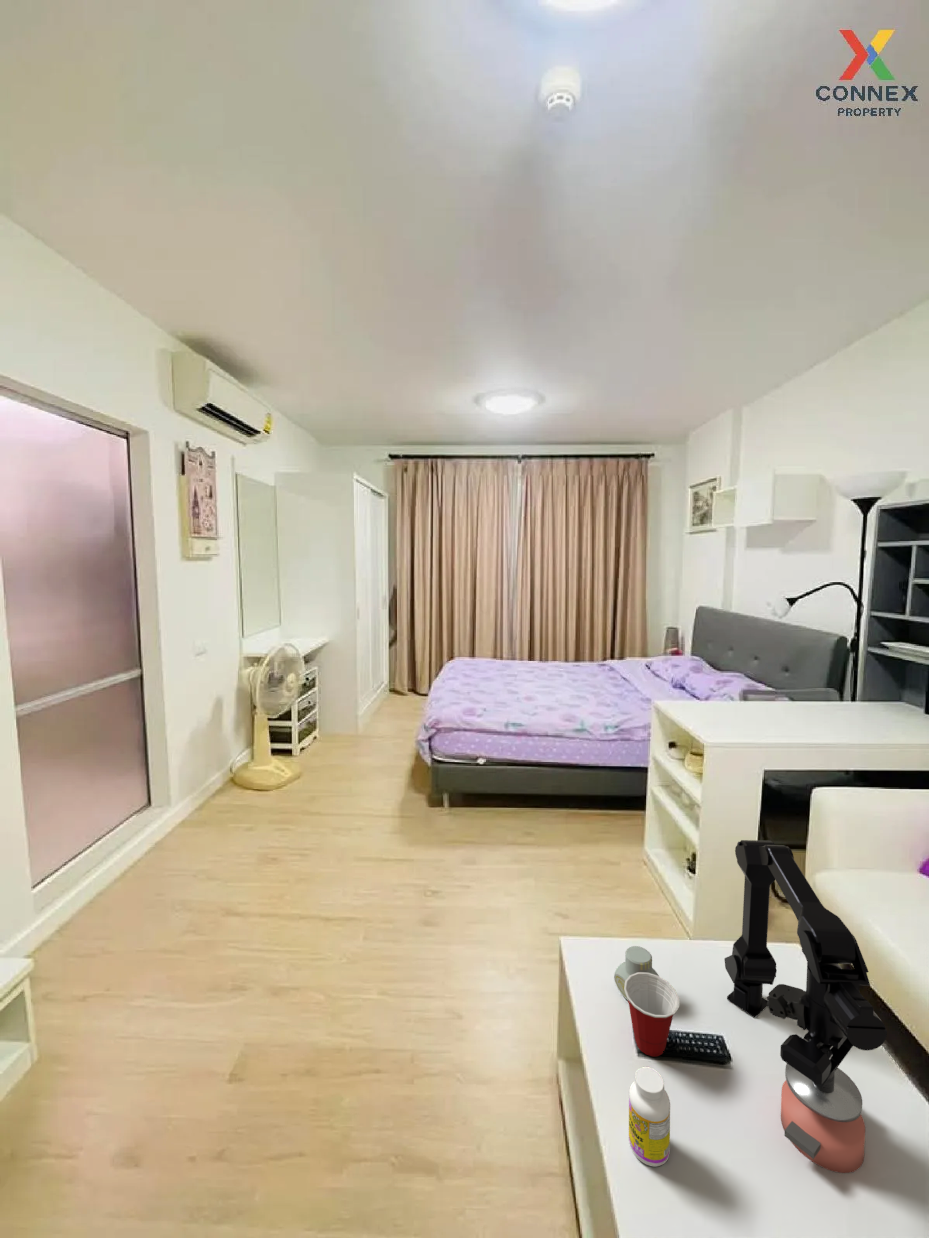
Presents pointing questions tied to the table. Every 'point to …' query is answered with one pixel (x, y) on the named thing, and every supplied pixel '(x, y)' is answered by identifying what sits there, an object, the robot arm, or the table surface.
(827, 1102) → the lid
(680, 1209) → the table surface
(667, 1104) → the supplement bottle
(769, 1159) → the table surface
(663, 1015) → the plastic cup
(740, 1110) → the table surface
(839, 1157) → the pot
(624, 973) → the air freshener
